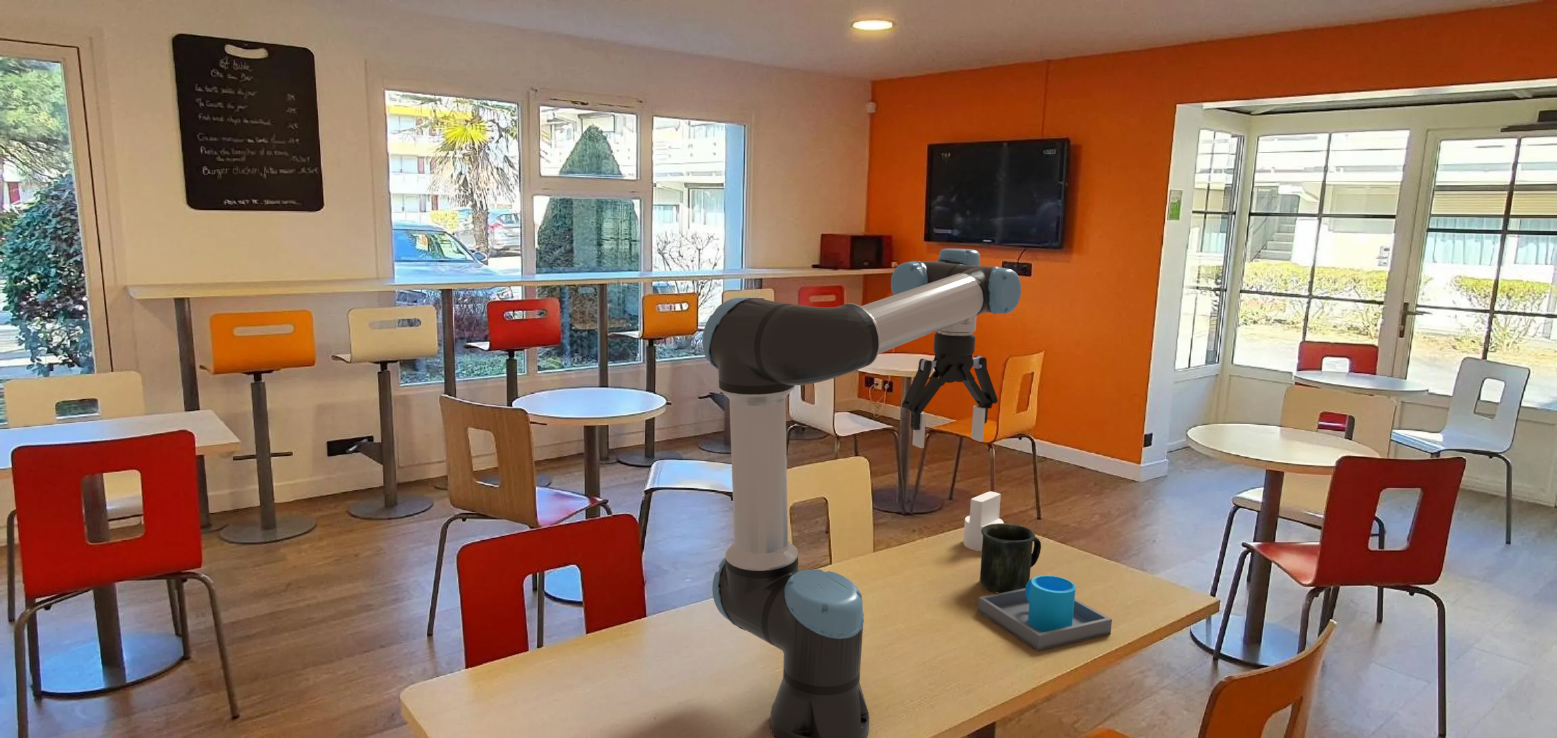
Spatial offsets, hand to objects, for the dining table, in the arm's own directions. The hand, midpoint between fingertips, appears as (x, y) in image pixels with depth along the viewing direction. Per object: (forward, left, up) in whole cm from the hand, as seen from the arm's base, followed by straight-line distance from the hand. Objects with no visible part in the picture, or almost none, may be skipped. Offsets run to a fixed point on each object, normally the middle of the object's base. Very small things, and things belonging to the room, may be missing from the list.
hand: (948, 443), depth 175 cm
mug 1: (+23, +6, -35) cm, 42 cm away
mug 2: (+17, -11, -34) cm, 40 cm away
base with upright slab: (+32, +27, -35) cm, 54 cm away
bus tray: (+17, -11, -35) cm, 40 cm away
